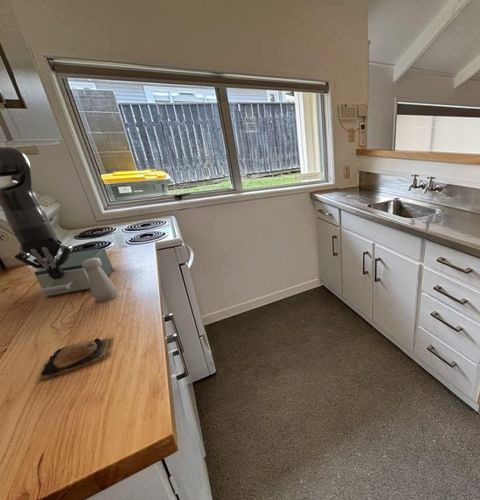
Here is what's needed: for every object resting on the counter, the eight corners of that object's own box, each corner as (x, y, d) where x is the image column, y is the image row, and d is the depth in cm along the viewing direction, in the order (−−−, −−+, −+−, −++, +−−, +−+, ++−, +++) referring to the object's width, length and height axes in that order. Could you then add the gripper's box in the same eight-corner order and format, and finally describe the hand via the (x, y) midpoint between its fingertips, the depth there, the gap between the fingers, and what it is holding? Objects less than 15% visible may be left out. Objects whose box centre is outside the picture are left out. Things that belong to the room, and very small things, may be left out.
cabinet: (96, 288, 92) (85, 264, 89) (47, 297, 88) (33, 272, 85) (113, 269, 105) (104, 248, 102) (71, 276, 101) (60, 254, 98)
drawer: (83, 296, 86) (74, 277, 83) (34, 306, 82) (23, 285, 80) (108, 270, 103) (100, 253, 100) (68, 276, 99) (59, 259, 96)
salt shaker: (90, 301, 85) (71, 262, 80) (110, 291, 90) (93, 254, 85) (103, 304, 83) (85, 264, 78) (122, 294, 88) (107, 256, 83)
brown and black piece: (110, 339, 69) (104, 326, 67) (105, 360, 62) (98, 347, 61) (51, 357, 64) (44, 344, 62) (39, 382, 57) (30, 368, 56)
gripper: (67, 216, 84) (91, 268, 91) (8, 223, 80) (38, 277, 86) (53, 223, 77) (80, 279, 84) (-12, 231, 73) (22, 289, 80)
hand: (58, 278), depth 85 cm, fingers closed
